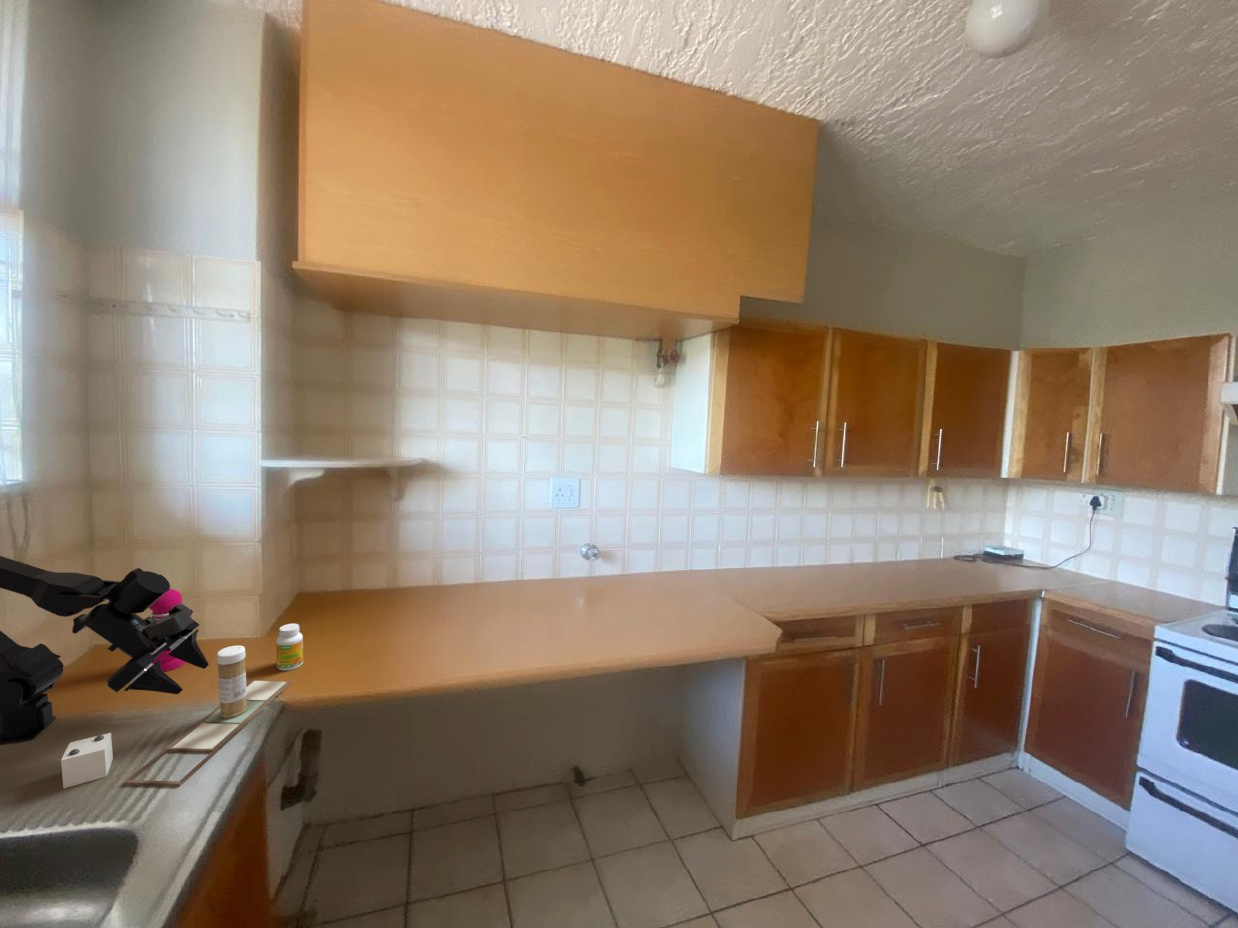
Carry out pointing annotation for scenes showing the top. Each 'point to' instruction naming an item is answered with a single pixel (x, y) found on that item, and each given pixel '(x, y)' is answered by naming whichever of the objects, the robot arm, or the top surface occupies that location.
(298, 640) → the supplement bottle
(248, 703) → the game board
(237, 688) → the tan spice jar
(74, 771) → the die
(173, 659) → the pepper mill
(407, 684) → the top surface
